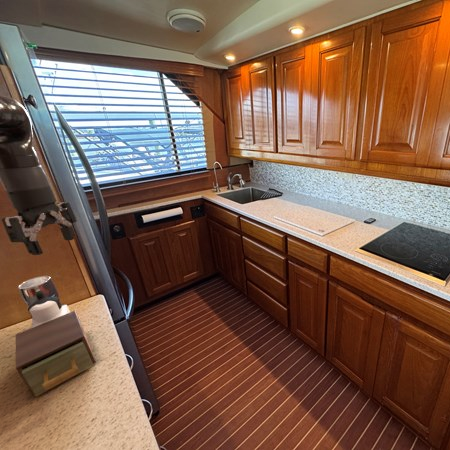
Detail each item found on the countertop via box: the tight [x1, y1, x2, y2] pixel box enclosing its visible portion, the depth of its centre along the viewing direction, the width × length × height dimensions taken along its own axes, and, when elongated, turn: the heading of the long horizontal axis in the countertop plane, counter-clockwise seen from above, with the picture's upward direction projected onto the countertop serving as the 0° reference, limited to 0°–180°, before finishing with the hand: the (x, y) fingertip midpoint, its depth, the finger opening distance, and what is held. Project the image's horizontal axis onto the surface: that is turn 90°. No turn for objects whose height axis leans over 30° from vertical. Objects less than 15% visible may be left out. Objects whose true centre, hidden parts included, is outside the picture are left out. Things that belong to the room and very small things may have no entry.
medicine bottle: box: [27, 297, 71, 328], centre depth 68 cm, size 7×7×12 cm
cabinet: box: [15, 310, 97, 397], centre depth 60 cm, size 14×11×9 cm
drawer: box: [22, 340, 94, 397], centre depth 57 cm, size 18×10×7 cm, turn 49°
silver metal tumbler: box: [17, 275, 61, 308], centre depth 72 cm, size 7×7×15 cm
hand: (54, 246), depth 63 cm, fingers open, 8 cm apart
